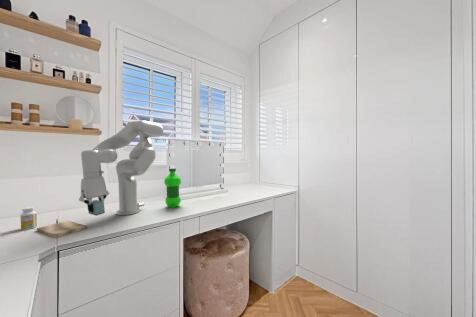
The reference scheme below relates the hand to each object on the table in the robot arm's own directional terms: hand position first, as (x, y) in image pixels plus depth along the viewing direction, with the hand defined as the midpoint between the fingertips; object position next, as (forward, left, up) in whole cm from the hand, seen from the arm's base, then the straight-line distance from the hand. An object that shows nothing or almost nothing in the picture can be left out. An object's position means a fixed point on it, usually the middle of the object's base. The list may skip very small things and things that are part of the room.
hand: (96, 210), depth 106 cm
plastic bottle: (-41, +11, -7) cm, 43 cm away
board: (+13, -4, -6) cm, 15 cm away
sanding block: (0, 0, -2) cm, 2 cm away
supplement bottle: (+19, -22, -7) cm, 29 cm away
